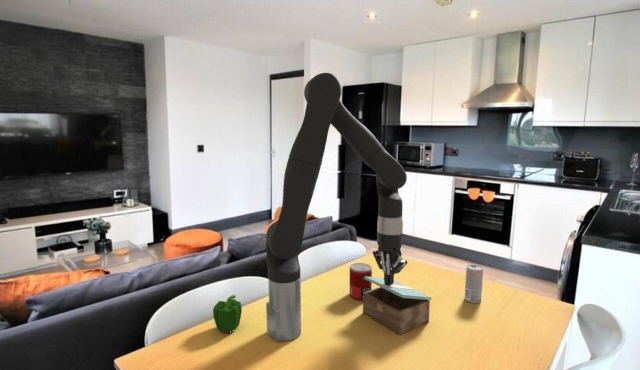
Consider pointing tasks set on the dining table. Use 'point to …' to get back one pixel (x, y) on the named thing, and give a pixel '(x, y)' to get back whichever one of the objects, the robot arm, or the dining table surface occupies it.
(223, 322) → the bell pepper
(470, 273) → the energy drink
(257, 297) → the dining table surface
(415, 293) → the lid
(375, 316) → the box
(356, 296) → the canned food
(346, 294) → the dining table surface
